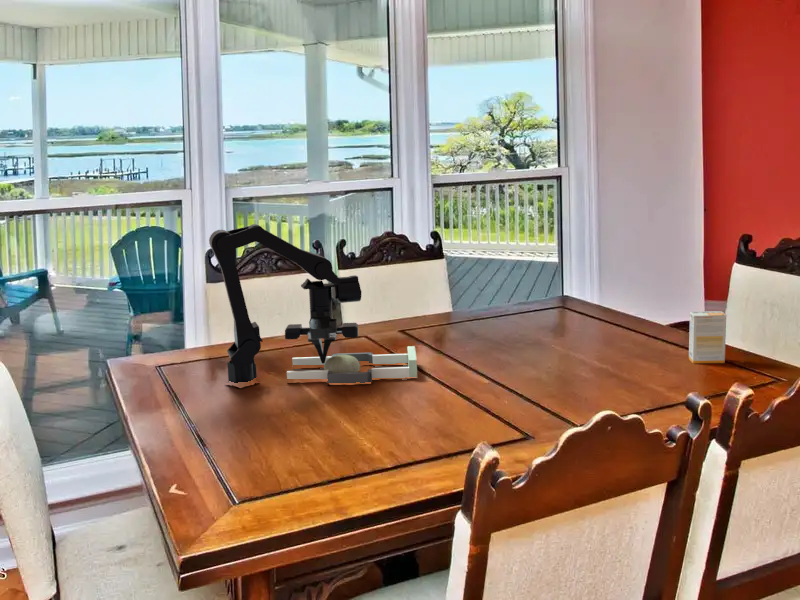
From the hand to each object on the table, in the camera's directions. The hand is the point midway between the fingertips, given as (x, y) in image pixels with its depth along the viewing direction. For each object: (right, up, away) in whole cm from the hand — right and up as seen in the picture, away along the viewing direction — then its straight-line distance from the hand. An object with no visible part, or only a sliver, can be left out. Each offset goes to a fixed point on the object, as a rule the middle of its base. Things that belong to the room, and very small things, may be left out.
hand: (323, 363), depth 217 cm
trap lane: (+7, -3, 0) cm, 7 cm away
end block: (+23, -2, +1) cm, 23 cm away
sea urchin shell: (+5, -3, +1) cm, 6 cm away
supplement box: (+101, 0, +1) cm, 101 cm away
